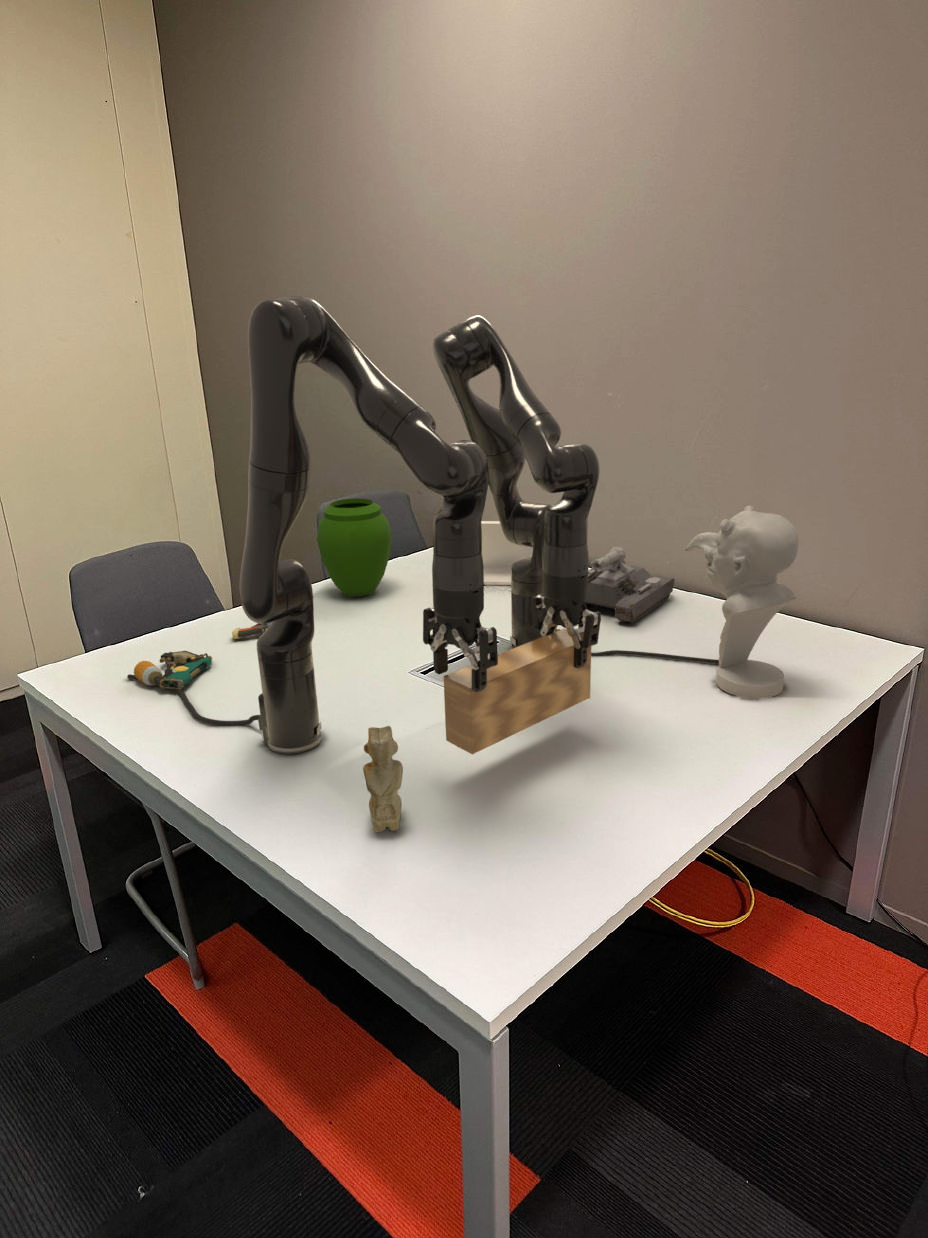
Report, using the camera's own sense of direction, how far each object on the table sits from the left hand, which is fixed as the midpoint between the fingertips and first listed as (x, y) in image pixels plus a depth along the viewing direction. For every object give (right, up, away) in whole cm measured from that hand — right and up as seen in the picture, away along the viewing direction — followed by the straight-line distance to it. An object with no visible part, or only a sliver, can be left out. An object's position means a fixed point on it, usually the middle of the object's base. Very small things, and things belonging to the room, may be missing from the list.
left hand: (459, 681), depth 131 cm
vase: (-28, +16, +98) cm, 103 cm away
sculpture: (-11, -21, -3) cm, 24 cm away
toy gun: (-47, +7, +76) cm, 89 cm away
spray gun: (-60, -3, +50) cm, 78 cm away
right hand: (+18, +2, +16) cm, 24 cm away
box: (+10, -7, +12) cm, 17 cm away
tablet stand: (+18, +22, +108) cm, 112 cm away
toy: (+39, +13, +84) cm, 93 cm away
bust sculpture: (+54, -3, +40) cm, 68 cm away
